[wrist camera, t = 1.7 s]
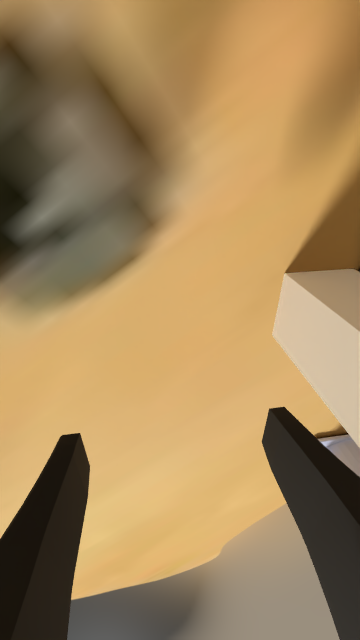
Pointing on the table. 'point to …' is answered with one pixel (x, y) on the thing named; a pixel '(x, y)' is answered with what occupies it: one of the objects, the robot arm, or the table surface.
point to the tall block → (325, 337)
